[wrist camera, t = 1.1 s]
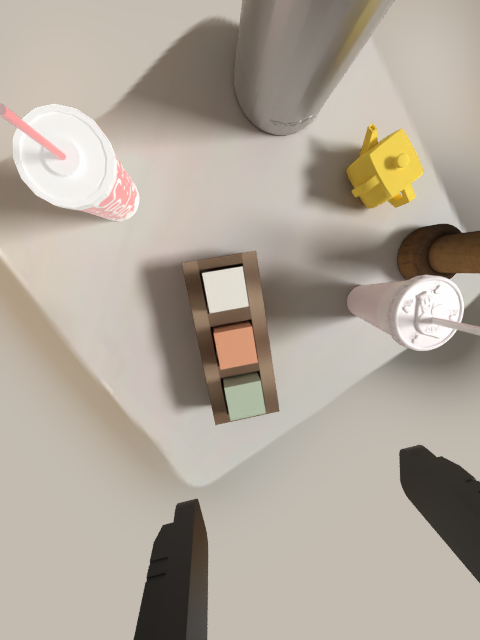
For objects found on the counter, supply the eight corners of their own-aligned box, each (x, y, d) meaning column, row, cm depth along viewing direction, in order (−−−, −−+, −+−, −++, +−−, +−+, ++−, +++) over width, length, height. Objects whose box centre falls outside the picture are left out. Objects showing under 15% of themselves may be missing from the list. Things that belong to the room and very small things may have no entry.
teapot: (321, 166, 27) (347, 141, 22) (365, 131, 26) (401, 98, 21) (359, 229, 28) (391, 221, 23) (400, 197, 28) (442, 181, 23)
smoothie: (349, 336, 31) (458, 389, 17) (327, 291, 29) (427, 309, 16) (394, 309, 31) (539, 340, 17) (374, 263, 29) (515, 256, 16)
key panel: (186, 264, 27) (181, 263, 23) (249, 253, 28) (256, 250, 24) (215, 405, 31) (215, 424, 27) (270, 393, 31) (279, 411, 27)
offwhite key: (203, 272, 25) (202, 273, 22) (238, 266, 25) (242, 266, 22) (209, 308, 26) (209, 313, 23) (244, 302, 26) (248, 306, 23)
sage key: (222, 375, 27) (224, 388, 24) (255, 368, 27) (260, 380, 24) (228, 405, 28) (230, 421, 25) (260, 398, 28) (265, 413, 25)
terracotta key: (213, 326, 26) (213, 333, 23) (247, 320, 26) (252, 326, 23) (219, 358, 27) (220, 369, 24) (252, 352, 27) (257, 362, 24)
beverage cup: (104, 239, 26) (-17, 205, 12) (69, 179, 24) (-112, 64, 11) (158, 213, 26) (99, 149, 12) (126, 152, 24) (19, 2, 11)
